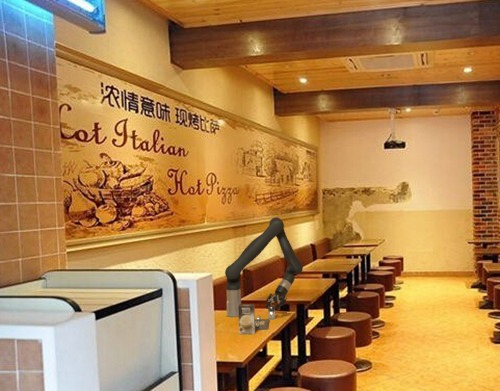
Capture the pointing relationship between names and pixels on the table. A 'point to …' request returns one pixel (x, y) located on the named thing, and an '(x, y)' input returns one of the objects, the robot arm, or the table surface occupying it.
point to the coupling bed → (261, 323)
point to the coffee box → (246, 318)
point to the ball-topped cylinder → (271, 312)
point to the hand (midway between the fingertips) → (270, 308)
